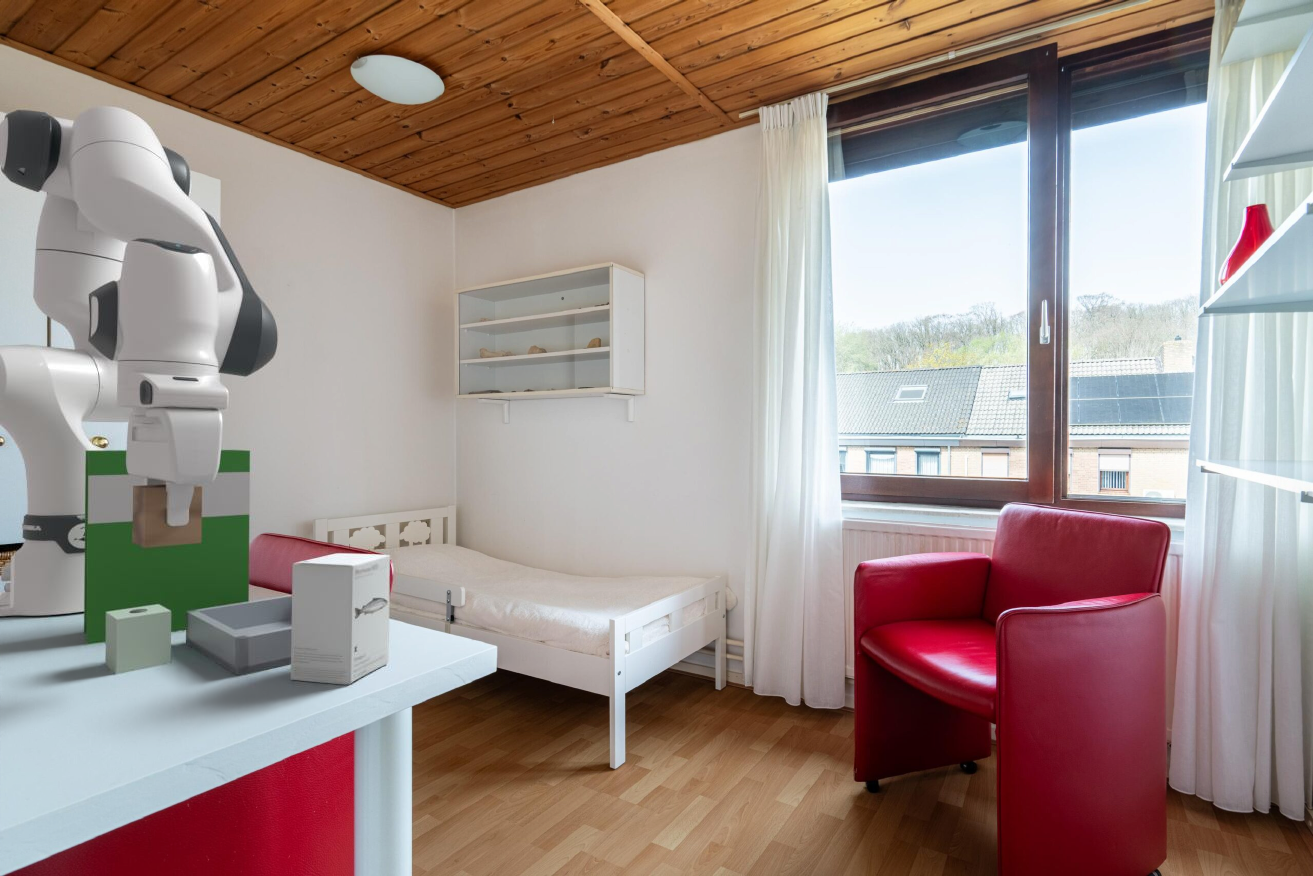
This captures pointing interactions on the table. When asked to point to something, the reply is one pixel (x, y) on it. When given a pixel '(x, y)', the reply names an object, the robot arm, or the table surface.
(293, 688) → the table surface
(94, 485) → the hardback book
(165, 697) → the table surface
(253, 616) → the tray
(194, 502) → the walnut block
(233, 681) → the table surface
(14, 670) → the table surface
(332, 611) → the supplement box
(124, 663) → the sage block
